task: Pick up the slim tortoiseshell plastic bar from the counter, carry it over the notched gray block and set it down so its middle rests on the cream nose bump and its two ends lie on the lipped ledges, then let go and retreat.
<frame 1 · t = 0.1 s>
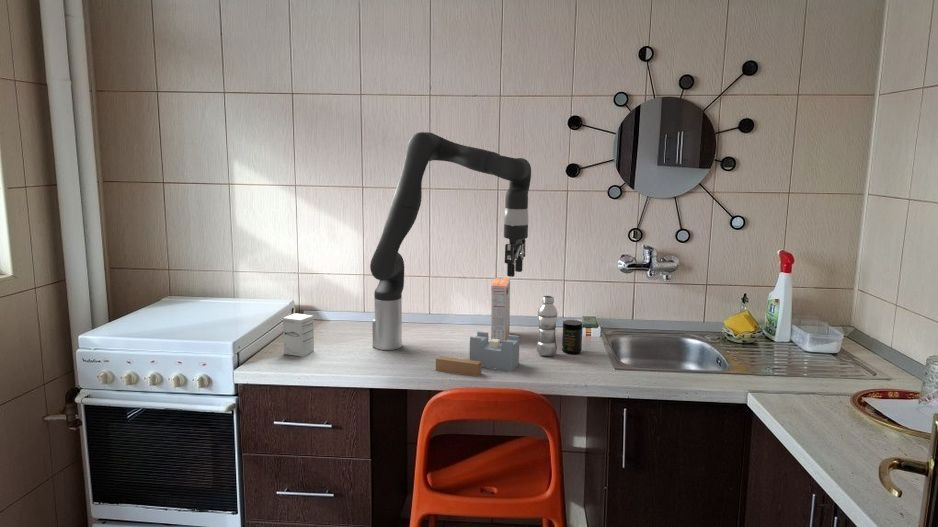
hand: (514, 274, 217), 29 cm above the worktop, tool pointing down, fingers open, 8 cm apart
supplement container: (571, 352, 234), on the worktop
frame bar: (458, 372, 212), on the worktop
notched gray block: (494, 364, 220), on the worktop
cracker box: (500, 338, 250), on the worktop
plastic bottle: (546, 355, 230), on the worktop
supplement box: (299, 353, 229), on the worktop
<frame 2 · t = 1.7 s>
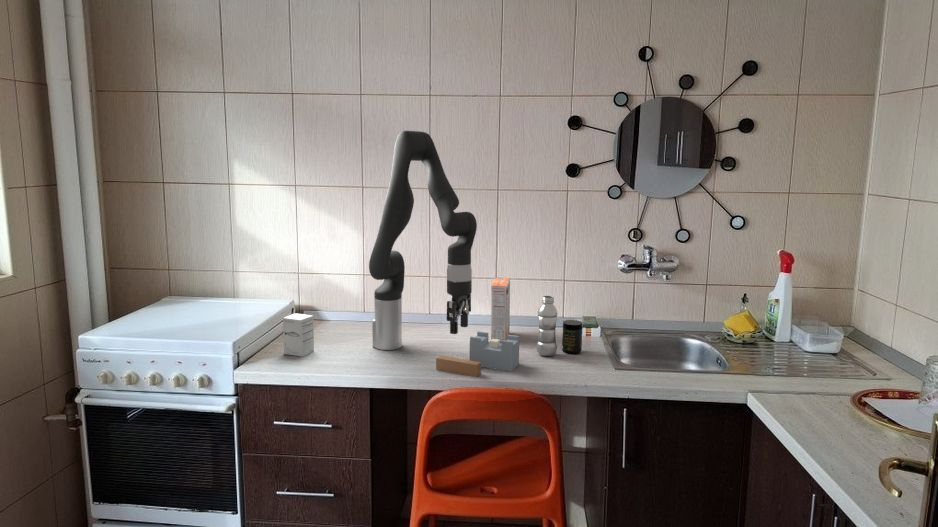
hand: (459, 330, 210), 13 cm above the worktop, tool pointing down, fingers open, 8 cm apart
nothing on the worktop moved.
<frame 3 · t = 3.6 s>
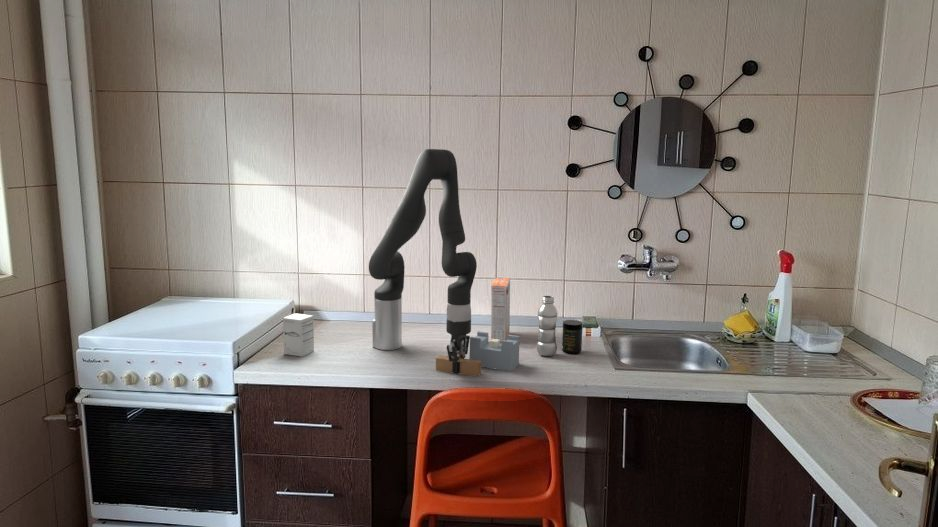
hand: (458, 371, 212), 0 cm above the worktop, tool pointing down, fingers closed on frame bar, 3 cm apart
frame bar: (458, 371, 212), on the worktop, touching gripper
everything else where it was.
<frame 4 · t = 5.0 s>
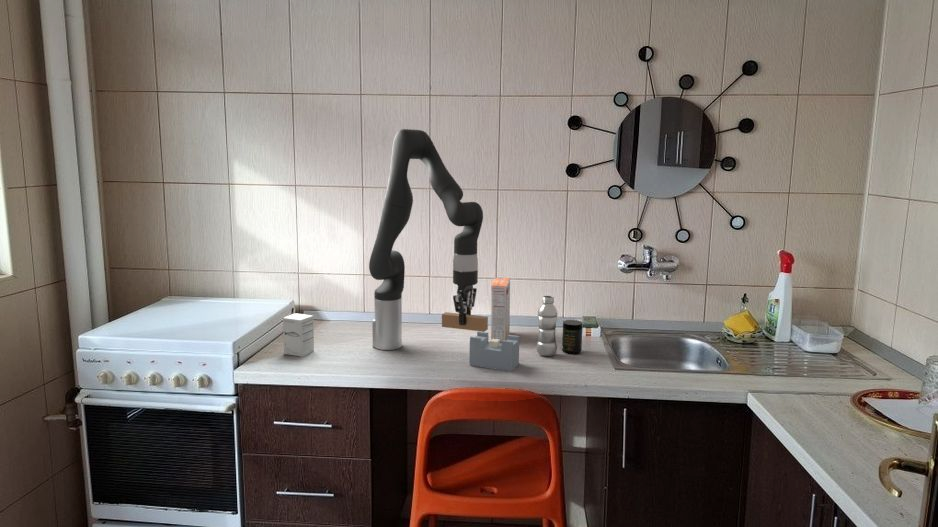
hand: (464, 323, 211), 15 cm above the worktop, tool pointing down, fingers closed on frame bar, 3 cm apart
frame bar: (464, 328, 211), point 14 cm above the worktop, touching gripper
everything else where it was.
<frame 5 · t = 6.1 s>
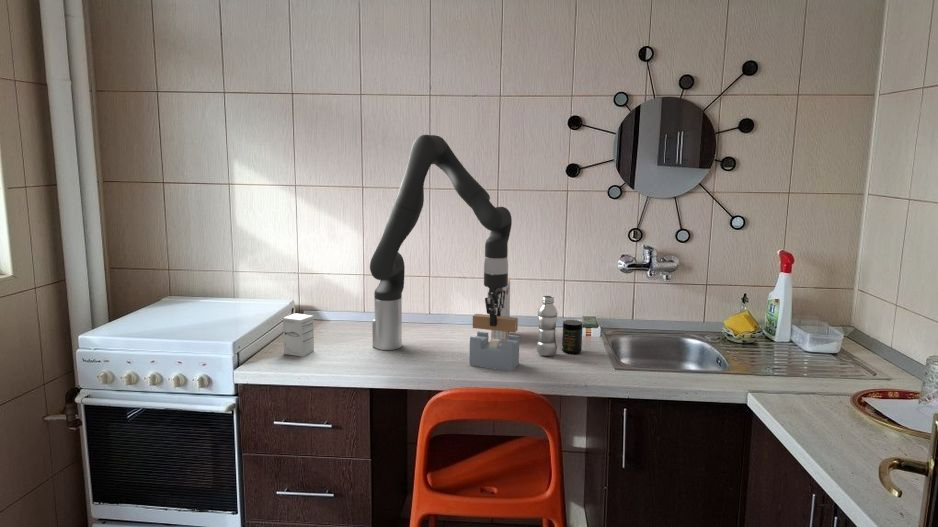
hand: (495, 324, 217), 13 cm above the worktop, tool pointing down, fingers closed on frame bar, 3 cm apart
frame bar: (495, 329, 218), point 12 cm above the worktop, touching gripper
everything else where it was.
when the fingers open (10 cm above the worktop, at t = 6.8 s): frame bar stays where it is, resting on notched gray block.
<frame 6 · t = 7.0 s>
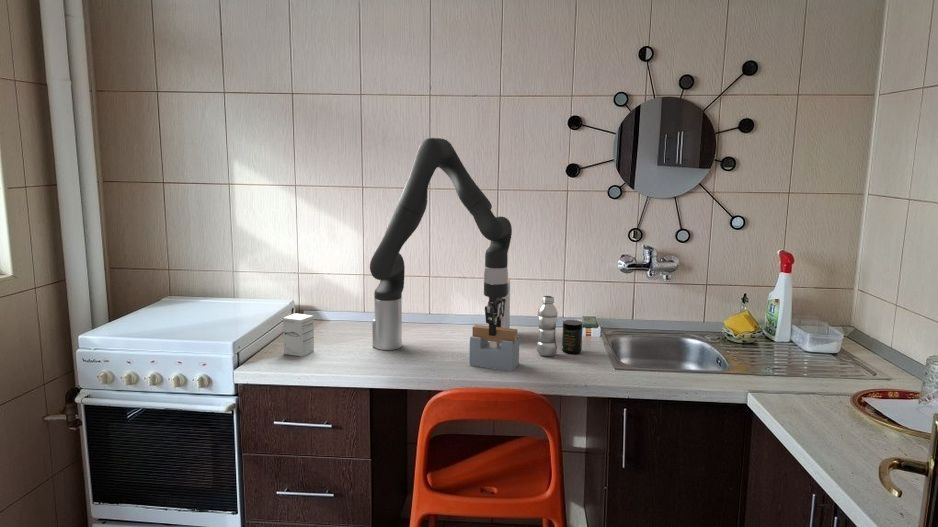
hand: (494, 333, 218), 10 cm above the worktop, tool pointing down, fingers open, 4 cm apart
frame bar: (494, 340, 218), point 8 cm above the worktop, touching notched gray block
everything else where it was.
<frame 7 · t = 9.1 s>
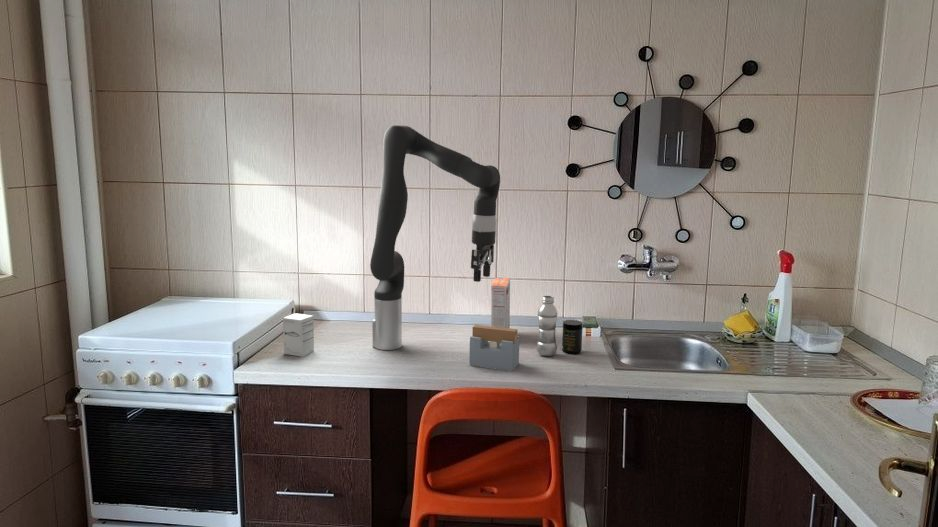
hand: (481, 279, 221), 27 cm above the worktop, tool pointing down, fingers open, 8 cm apart
nothing on the worktop moved.
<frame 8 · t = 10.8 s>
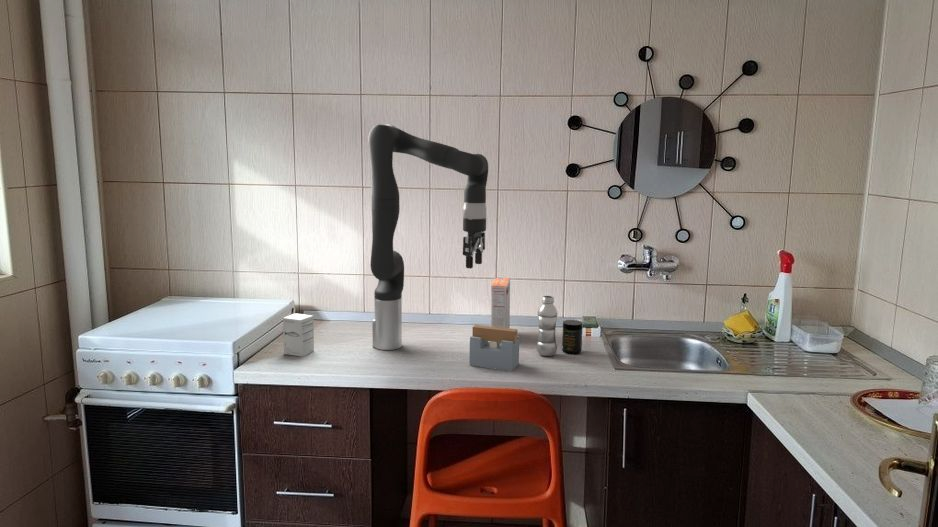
hand: (473, 266, 224), 30 cm above the worktop, tool pointing down, fingers open, 8 cm apart
nothing on the worktop moved.
at the end: frame bar 0.1 cm off-centre on the notched gray block, point 8.0 cm above the notched gray block's base; frame bar tilted 0°; the gripper is holding nothing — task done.
